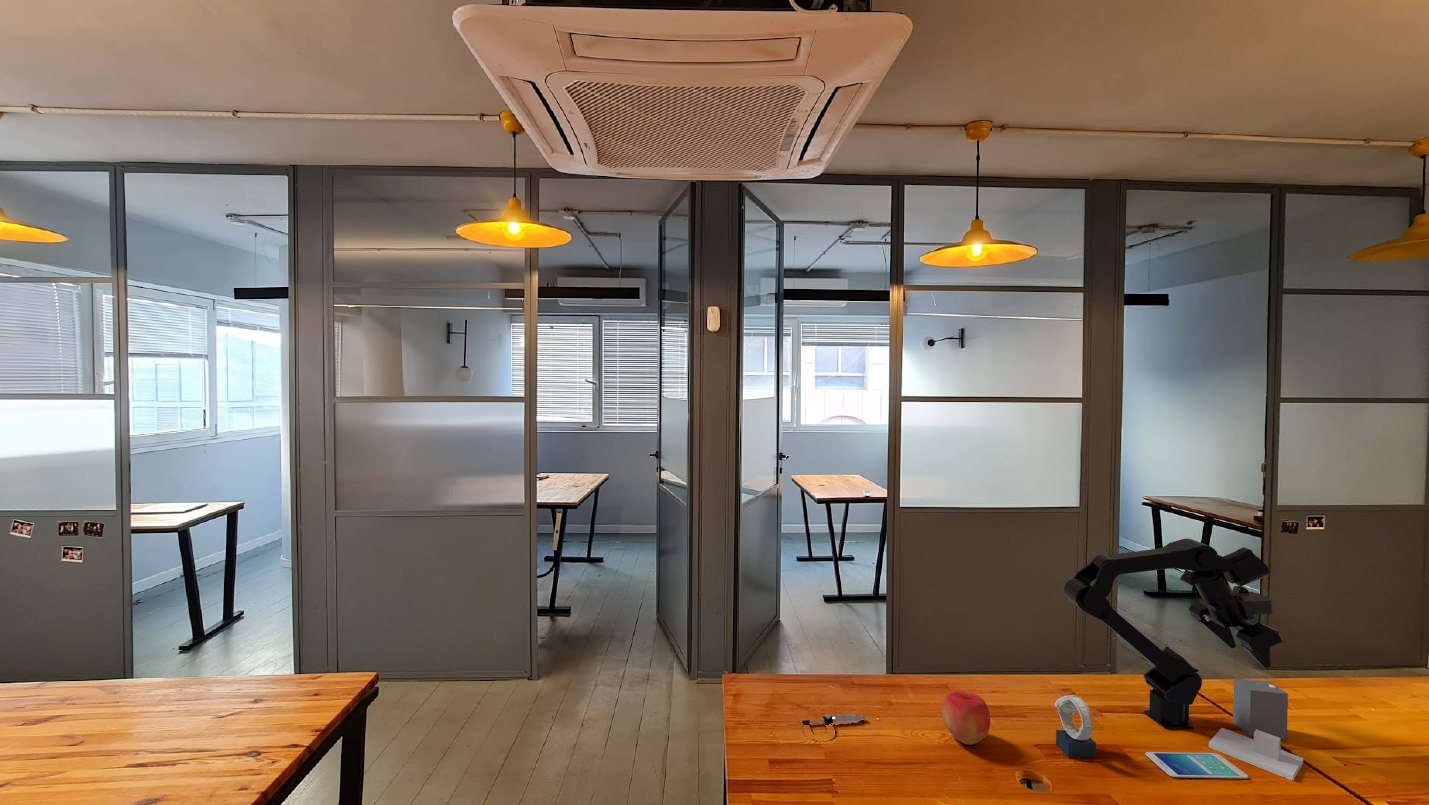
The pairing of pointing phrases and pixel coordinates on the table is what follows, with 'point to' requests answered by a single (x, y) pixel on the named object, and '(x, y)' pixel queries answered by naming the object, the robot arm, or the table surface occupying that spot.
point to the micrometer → (837, 719)
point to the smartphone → (1195, 765)
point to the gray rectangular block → (1260, 707)
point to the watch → (1070, 738)
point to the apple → (966, 716)
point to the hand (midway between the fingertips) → (1250, 657)
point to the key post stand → (1258, 751)
